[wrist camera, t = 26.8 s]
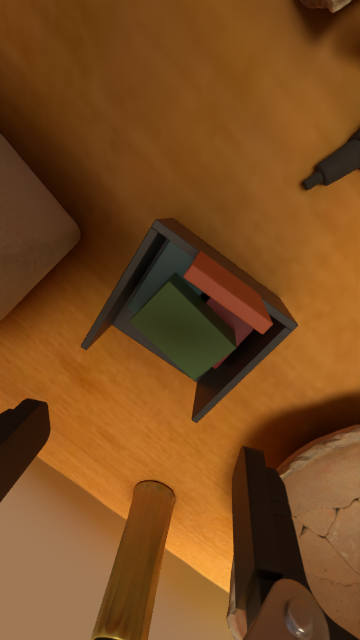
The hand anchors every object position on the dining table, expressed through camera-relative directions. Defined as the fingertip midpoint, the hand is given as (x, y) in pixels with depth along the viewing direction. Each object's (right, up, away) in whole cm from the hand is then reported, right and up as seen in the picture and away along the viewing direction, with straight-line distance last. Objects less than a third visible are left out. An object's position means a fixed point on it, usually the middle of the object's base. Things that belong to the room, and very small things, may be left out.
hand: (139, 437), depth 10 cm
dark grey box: (+3, +6, +15) cm, 16 cm away
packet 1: (+1, +8, +13) cm, 15 cm away
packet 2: (+2, +5, +11) cm, 12 cm away
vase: (-2, -20, +26) cm, 34 cm away
